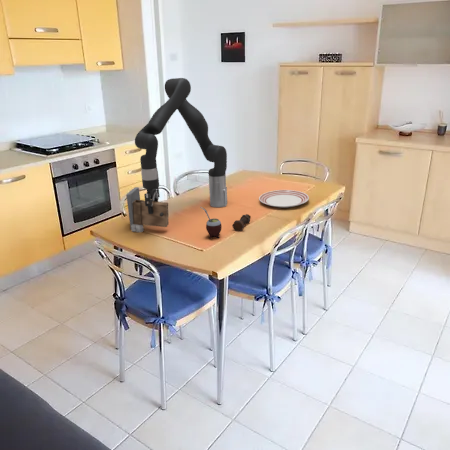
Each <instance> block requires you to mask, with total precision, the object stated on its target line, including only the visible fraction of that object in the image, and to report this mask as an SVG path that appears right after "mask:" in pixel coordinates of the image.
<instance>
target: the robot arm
mask: <svg viewBox="0 0 450 450" xmlns="http://www.w3.org/2000/svg"><path fill="white" fill-rule="evenodd" d="M191 86H192V85H191V82H190V81H189V80H188V79H187V78H185V77H184V78H183V77H178V78H177V77H175V78H170V79H169V78H168V79H167V80H166V81H165V83H164V91H165V93H166V96H167V97H168V99H167V101H165V103H163V104H161V106H160V107H159V108H158V109H156V110H155V112H154V113H153V114H152V116H151V117H150V119H149V120H148V122H147V124H146V125H145V126H143V127H142V128H141V129H140V130H139V131H138V132H137V134H136V136H135V139H134V145H135V147H136V148H137V149H140V150H145V154H142V155H141V156H140V160H139V161H140V166H141V167H140V169H141V171H140V172H141V182H142V188H143V189H144V190H146V193H144V201H145V206H148V213H149V214H153V202H159V198H161V197H160V190H159V189H160V182H159V181H160V180H159V179H160V178H159V170H158V167H157V166H158V164H157V155H158V147H159V141H158V140H159V139H158V138H157V136H156V135H160V134H162V132H163V130H164V128H165V127H166V125H167V124H168V122H169V120H170V119H171V117H172V116H173V115H174V113H175V112H176V111H178V113H179V114H180V115H181V118H182V119H183V121H184V122H185V123H186V125H187V127H188V129H189V131H190V132H191V133H192V135H193V137H194V138H195V140H196V142H197V144H198V146H199V147H200V150H201V152H202V154H203V156H204V158H205V160H206V161H208V162H211V163H214V164H213V168H209V170H208V187H209V206H210V207H212V208H223V207H227V205H228V188H227V179H226V178H227V177H226V176H227V175H226V172H227V167H228V166H227V165H228V163H227V162H228V161H227V160H228V153H227V149H226V148H225V147H224V146H222V145H218V144H217V145H216V144H214V143H213V142H212V140H211V139H210V137H209V125H208V122H207V120H206V119H205V117H204V115H203V113H202V112H201V111H200V110H199V109H197V107H195V106H194V105H193V104H191V103H190V102H189V101H188V100H187V98H188V97H189V96H190V95H191V90H192V87H191Z"/></svg>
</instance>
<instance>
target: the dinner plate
mask: <svg viewBox="0 0 450 450" xmlns="http://www.w3.org/2000/svg"><path fill="white" fill-rule="evenodd" d="M258 200H259V201H260V203H262V204H265V205H267V206H270V207H274V208H281V209H283V208H285V209H287V208H294V207H297V206H301V205H303V204H305V203H307V202H308V201H309V200H310V196H309V195H308V194H307V193H305V192H302V191H300V190H293V189H277V190H271V191H270V190H269V191H266V192H264V193H262V194H261V195H259V197H258Z"/></svg>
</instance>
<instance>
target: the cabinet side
mask: <svg viewBox="0 0 450 450" xmlns="http://www.w3.org/2000/svg"><path fill="white" fill-rule="evenodd" d="M125 195H126V202H127V204H126V205H127V211H128V219H129V227H130V231H131V232H135V233H142V232H144V225H136V224H133V204H132V202H133V201H135V200H141V196H140V195H141V194H140V187H133V188H132V189H131V190H130V191H129V192H128V193H126V194H125Z"/></svg>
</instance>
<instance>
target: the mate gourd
mask: <svg viewBox="0 0 450 450" xmlns="http://www.w3.org/2000/svg"><path fill="white" fill-rule="evenodd" d="M199 208H200V209H202V210H203V211H204V212H205V214H206V217H207V218H208V220H207V222H206V225H205V229H206V232H207V234H208V236H209V237H208V239H209V240H211V239H213V238H215V239H220V235H221V234H220V233H221V231H222V222H221V220H220V219H218V218H210V216H209V212H208V211H207V210H206V209H205V208H204V207H202V206H199Z"/></svg>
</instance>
